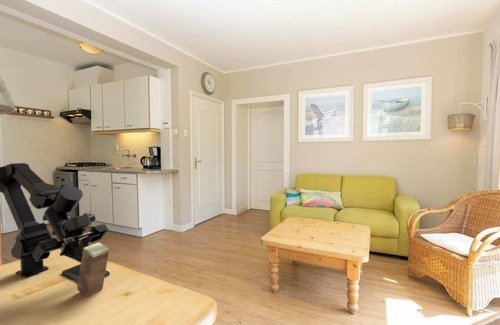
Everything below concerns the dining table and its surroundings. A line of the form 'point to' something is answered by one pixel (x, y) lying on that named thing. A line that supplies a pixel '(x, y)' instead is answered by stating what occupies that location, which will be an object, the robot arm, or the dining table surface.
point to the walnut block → (92, 269)
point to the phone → (76, 273)
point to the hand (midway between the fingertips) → (87, 264)
